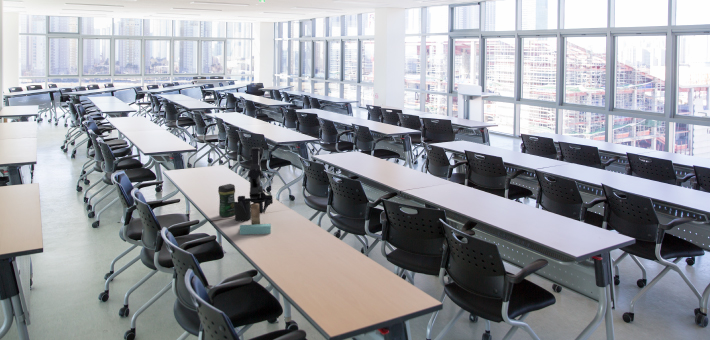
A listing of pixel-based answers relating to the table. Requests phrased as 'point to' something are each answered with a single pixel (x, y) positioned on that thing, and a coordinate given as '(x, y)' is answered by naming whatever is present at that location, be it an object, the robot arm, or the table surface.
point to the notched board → (255, 229)
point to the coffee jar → (226, 200)
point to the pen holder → (242, 212)
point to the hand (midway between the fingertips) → (255, 213)
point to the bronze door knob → (255, 214)
